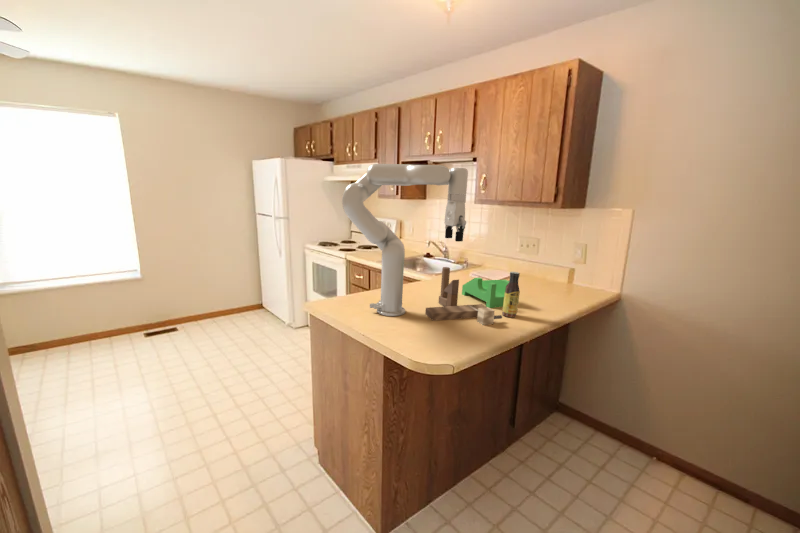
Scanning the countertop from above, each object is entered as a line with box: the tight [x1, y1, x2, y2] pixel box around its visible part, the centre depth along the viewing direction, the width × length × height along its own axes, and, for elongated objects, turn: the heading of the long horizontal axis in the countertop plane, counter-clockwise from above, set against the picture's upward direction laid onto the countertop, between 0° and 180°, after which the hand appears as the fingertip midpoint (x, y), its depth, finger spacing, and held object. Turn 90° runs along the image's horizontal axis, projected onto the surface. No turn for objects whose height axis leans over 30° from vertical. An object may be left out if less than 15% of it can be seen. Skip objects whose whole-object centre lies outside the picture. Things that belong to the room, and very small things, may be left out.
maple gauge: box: [476, 307, 503, 326], centre depth 149 cm, size 10×4×6 cm, turn 108°
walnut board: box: [424, 303, 487, 321], centre depth 156 cm, size 28×8×3 cm, turn 108°
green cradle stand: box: [461, 277, 509, 309], centre depth 181 cm, size 24×13×12 cm, turn 23°
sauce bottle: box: [501, 271, 521, 318], centre depth 157 cm, size 7×6×20 cm
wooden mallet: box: [438, 266, 460, 307], centre depth 167 cm, size 4×11×18 cm, turn 26°
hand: (453, 239), depth 150 cm, fingers open, 9 cm apart
